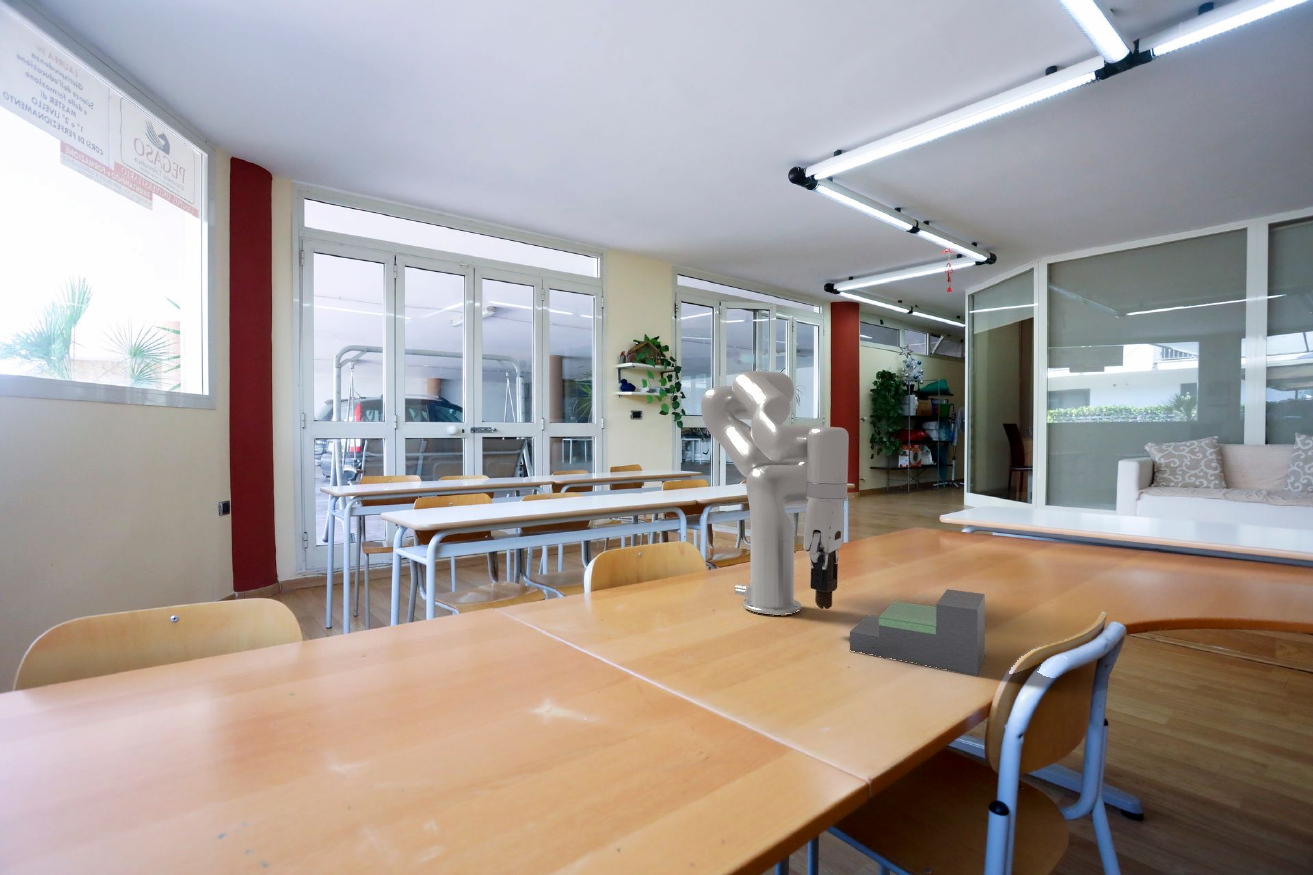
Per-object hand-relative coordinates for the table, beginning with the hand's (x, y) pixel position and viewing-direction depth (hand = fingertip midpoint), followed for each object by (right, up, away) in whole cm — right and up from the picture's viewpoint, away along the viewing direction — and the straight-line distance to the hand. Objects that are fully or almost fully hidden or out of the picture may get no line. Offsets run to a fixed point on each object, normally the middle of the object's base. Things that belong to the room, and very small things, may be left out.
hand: (824, 585), depth 116 cm
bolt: (0, -4, 0) cm, 4 cm away
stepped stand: (+14, -10, -10) cm, 19 cm away
